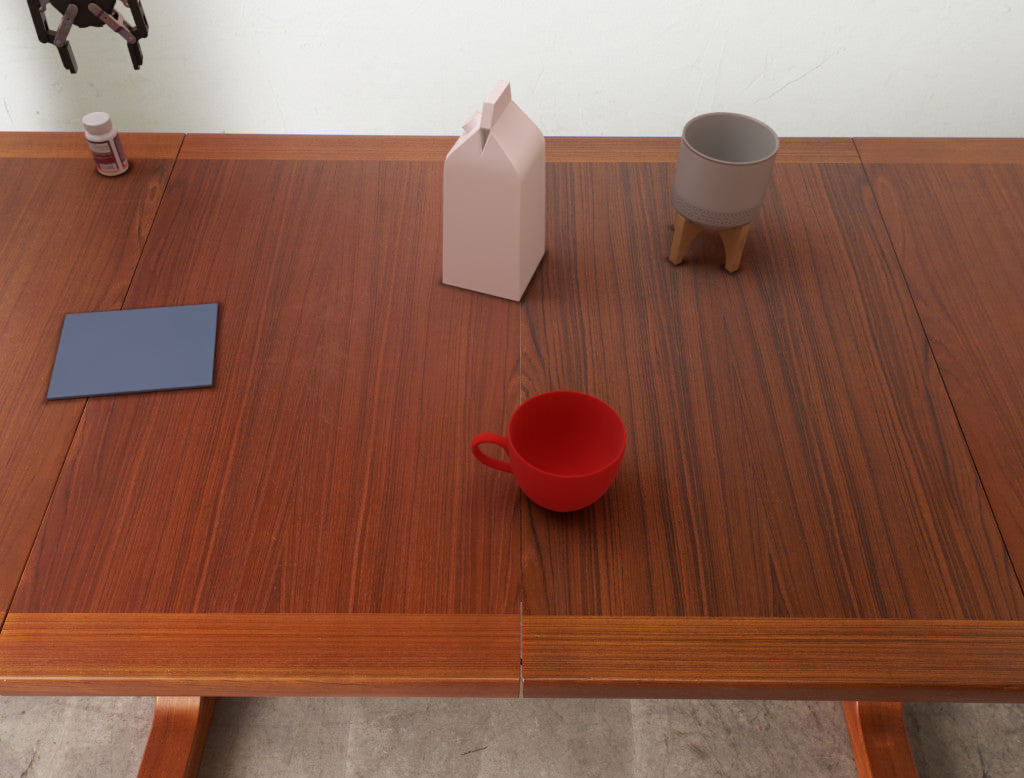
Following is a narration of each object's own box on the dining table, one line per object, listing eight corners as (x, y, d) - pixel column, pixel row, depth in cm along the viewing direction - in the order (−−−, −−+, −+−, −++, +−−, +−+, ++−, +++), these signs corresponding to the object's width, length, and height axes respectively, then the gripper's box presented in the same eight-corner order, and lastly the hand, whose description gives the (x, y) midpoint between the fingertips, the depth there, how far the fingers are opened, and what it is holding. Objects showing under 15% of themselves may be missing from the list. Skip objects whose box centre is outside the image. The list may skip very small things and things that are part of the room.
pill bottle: (115, 157, 145) (98, 106, 139) (135, 167, 144) (118, 116, 137) (91, 169, 143) (72, 119, 136) (111, 180, 141) (93, 129, 135)
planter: (766, 256, 134) (799, 145, 120) (701, 286, 129) (728, 173, 115) (707, 213, 140) (733, 102, 126) (644, 240, 136) (662, 128, 122)
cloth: (47, 400, 112) (46, 398, 111) (66, 316, 121) (65, 314, 121) (212, 386, 114) (211, 384, 114) (218, 305, 124) (217, 303, 123)
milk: (519, 301, 126) (526, 124, 105) (442, 283, 128) (435, 106, 108) (544, 252, 133) (556, 78, 112) (471, 235, 135) (470, 61, 115)
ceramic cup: (475, 445, 109) (474, 385, 101) (613, 451, 109) (624, 392, 101) (468, 530, 101) (467, 473, 93) (618, 536, 101) (629, 480, 93)
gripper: (125, -72, 118) (159, 54, 130) (10, -68, 116) (56, 59, 128) (121, -49, 113) (157, 79, 126) (1, -45, 111) (50, 85, 124)
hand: (106, 69), depth 127 cm, fingers open, 8 cm apart
